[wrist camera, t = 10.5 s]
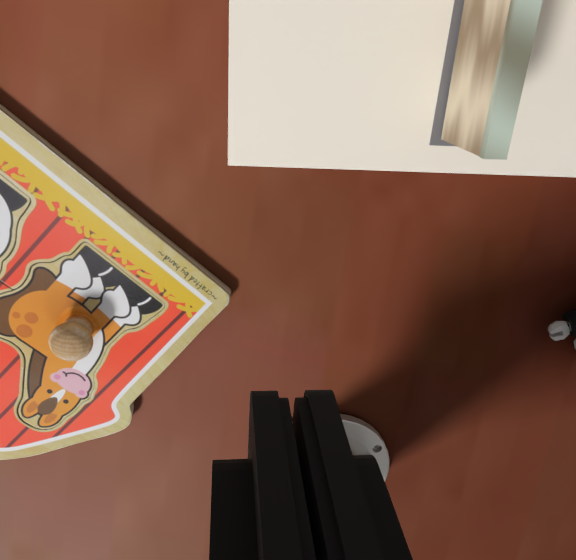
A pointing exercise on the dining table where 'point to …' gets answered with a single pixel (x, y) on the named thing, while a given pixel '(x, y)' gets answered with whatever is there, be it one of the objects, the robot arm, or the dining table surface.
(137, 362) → the knob puzzle
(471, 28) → the fence panel
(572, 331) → the robot toy
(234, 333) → the dining table surface
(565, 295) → the dining table surface
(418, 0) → the card
